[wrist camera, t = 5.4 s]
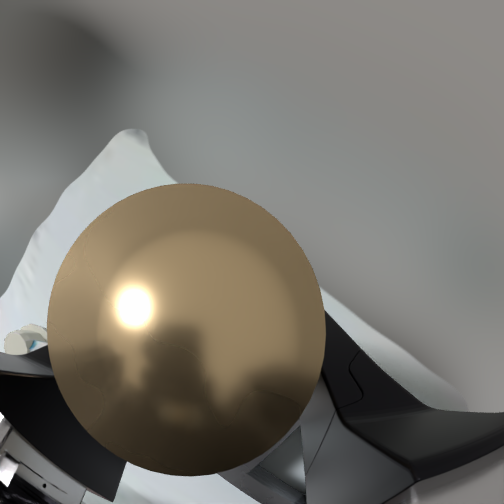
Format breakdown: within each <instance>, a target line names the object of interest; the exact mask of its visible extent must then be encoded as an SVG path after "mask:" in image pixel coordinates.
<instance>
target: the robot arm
mask: <svg viewBox="0 0 504 504" xmlns="http://www.w3.org/2000/svg"><path fill="white" fill-rule="evenodd" d="M324 311H325V310H324ZM325 326H326V340H325V351H324V359H323V363H322V367H321V372H320V376H319V379H318V382H317V384H316V387H315V389H314V392H313V394H312V397H311V399H310V401H309V403H308V404H307V406H306V408H305V409H304V411H303V413H302V414H301V416H300V426H301V436H302V447H303V459H304V471H305V484H306V498H307V504H504V412H502V413H477V412H458V411H445V410H437V409H434V408H431V407H428V406H427V405H425V404H423V403H422V402H420V401H419V400H418V399H416V398H415V397H414V396H413V395H412V394H410V393H409V392H408V391H407V390H406V389H404V388H403V387H402V386H401V385H400V384H398V383H397V382H396V381H395V380H394V379H392V378H391V377H390V376H389V375H388V374H387V373H386V372H384V371H383V370H382V369H381V368H380V367H379V366H378V365H377V364H376V363H375V362H374V361H373V360H372V359H371V358H370V357H369V356H368V355H367V354H366V353H365V352H364V351H363V350H362V349H361V348H360V347H359V346H358V345H357V344H356V343H355V342H354V341H353V340H352V338H351V337H350V336H349V335H348V334H347V333H346V332H345V331H344V330H343V329H342V328H341V327H340V326H339V325H338V324H337V323H336V322H335V321H334V319H333V318H332V317H331V316H330V315H329V314H328V313H327V312H326V311H325ZM126 462H127V461H126V460H124V459H122V458H120V457H118V456H117V455H115V454H114V453H112V452H111V451H109V450H108V449H106V448H105V447H104V446H102V445H101V444H100V443H99V442H98V441H97V440H96V439H94V438H93V437H92V436H91V435H90V434H89V433H88V432H87V431H86V429H85V428H84V427H83V426H82V425H81V424H80V422H79V421H78V420H77V419H76V417H75V416H74V414H73V413H72V411H71V410H70V408H69V407H68V405H67V403H66V401H65V399H64V397H63V395H62V393H61V391H60V389H59V387H58V384H57V381H56V379H55V376H54V373H53V369H52V365H51V361H50V357H49V350H48V345H46V346H43V347H41V348H39V349H36V350H34V351H32V352H29V353H26V354H22V355H11V354H6V353H2V352H0V504H81V502H82V499H83V497H84V495H85V492H86V490H87V491H89V492H91V493H93V494H96V495H98V496H100V497H102V498H104V499H106V500H108V501H111V502H113V501H114V499H115V496H116V492H117V489H118V486H119V483H120V480H121V477H122V474H123V471H124V468H125V465H126Z"/></svg>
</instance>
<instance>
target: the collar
mask: <svg viewBox="0 0 504 504" xmlns="http://www.w3.org/2000/svg"><path fill="white" fill-rule="evenodd" d="M299 426H300V418H299V419H298V421H297V422H296V423H295V424H294V425H293V427H292V428H291V429H290V430H289V431H288V432H287V434H286V435H285V436H284V437H283V438H282V439H281V440H279V441H278V442H277V443H276V444H275V445H274V446H273V447H271V448H270V449H269V450H268V451H266V452H265V453H263V454H261V455H260V456H258V457H257V458H255V459H253V460H252V461H250V462H248V463H246V464H243V465H241V466H238V467H236V468H234V469H231V470H228V471H224V472H220V473H217V474H219V475H220V476H221V477H223V478H224V479H225V480H227V481H228V482H230V483H231V484H232V485H234V486H235V487H237V488H238V489H240V490H241V491H243V492H244V493H245V494H247V495H249V496H250V497H252V498H253V499H255V500H256V501H258V502H260V503H261V504H307V498H306V494H305V495H304V494H302V493H301V492H299V491H297V490H296V489H294V488H292V487H291V486H289V485H288V484H286V483H284V482H283V481H281V480H280V479H278V478H277V477H275V476H274V475H272V474H271V473H269V472H268V471H266V470H265V469H263V468H262V467H260V466H259V465H258V464H259V463H260V462H261V461H262V460H264V459H265V458H266V457H267V456H268V455H269V454H270V453H271V452H273V451H274V450H275V449H276V448H277V447H278V446H279V445H280V444H281V443H282V442H283V441H284V440H285V439H286V438H287V437H289V436H290V435H291V434H292V433H293V432H294V431H295V430H296V429H297V428H298V427H299Z"/></svg>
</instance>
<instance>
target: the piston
mask: <svg viewBox="0 0 504 504" xmlns="http://www.w3.org/2000/svg"><path fill="white" fill-rule="evenodd" d="M325 340H326V326H325V311H324V306H323V301H322V296H321V292H320V288H319V285H318V282H317V280H316V277H315V274H314V271H313V269H312V267H311V265H310V263H309V261H308V259H307V257H306V255H305V254H304V252H303V250H302V248H301V247H300V246H299V244H298V243H297V241H296V240H295V239H294V237H293V236H292V235H291V233H290V232H289V231H288V230H287V229H286V228H285V227H284V226H283V225H282V224H281V223H280V222H279V221H278V220H277V219H276V218H275V217H274V216H272V215H271V214H270V213H269V212H267V211H266V210H265V209H264V208H262V207H261V206H259V205H257V204H255V203H254V202H252V201H251V200H249V199H247V198H245V197H243V196H241V195H238V194H236V193H234V192H231V191H229V190H225V189H221V188H218V187H214V186H208V185H201V184H171V185H164V186H159V187H155V188H151V189H147V190H144V191H141V192H139V193H136V194H133V195H131V196H129V197H127V198H125V199H123V200H121V201H119V202H118V203H116V204H114V205H113V206H111V207H110V208H109V209H107V210H106V211H104V212H103V213H102V214H101V215H99V216H98V217H97V218H96V219H95V220H94V221H93V222H91V223H90V225H89V226H88V227H87V228H86V229H85V230H84V231H83V232H82V233H81V234H80V236H79V237H78V238H77V240H76V241H75V243H74V244H73V245H72V247H71V248H70V250H69V252H68V253H67V255H66V257H65V259H64V260H63V262H62V265H61V267H60V269H59V271H58V274H57V276H56V279H55V282H54V285H53V289H52V292H51V297H50V302H49V307H48V318H47V342H48V350H49V357H50V361H51V365H52V369H53V373H54V376H55V379H56V381H57V384H58V387H59V389H60V391H61V393H62V395H63V397H64V399H65V401H66V403H67V405H68V407H69V408H70V410H71V411H72V413H73V414H74V416H75V417H76V419H77V420H78V421H79V422H80V424H81V425H82V426H83V427H84V428H85V429H86V431H87V432H88V433H89V434H90V435H91V436H92V437H93V438H94V439H96V440H97V441H98V442H99V443H100V444H101V445H102V446H104V447H105V448H106V449H108V450H109V451H111V452H112V453H114V454H115V455H117V456H118V457H120V458H122V459H124V460H126V461H128V462H130V463H131V464H133V465H136V466H139V467H141V468H144V469H147V470H150V471H153V472H158V473H162V474H167V475H175V476H202V475H211V474H215V473H220V472H224V471H228V470H231V469H234V468H236V467H238V466H241V465H243V464H246V463H248V462H250V461H252V460H253V459H255V458H257V457H258V456H260V455H261V454H263V453H265V452H266V451H268V450H269V449H270V448H271V447H273V446H274V445H275V444H276V443H277V442H278V441H279V440H281V439H282V438H283V437H284V436H285V435H286V434H287V432H288V431H289V430H290V429H291V428H292V427H293V425H294V424H295V423H296V422H297V421H298V419H299V418H300V416H301V414H302V413H303V411H304V409H305V408H306V406H307V404H308V403H309V401H310V399H311V397H312V394H313V392H314V389H315V387H316V384H317V382H318V379H319V376H320V372H321V367H322V363H323V359H324V351H325Z"/></svg>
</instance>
